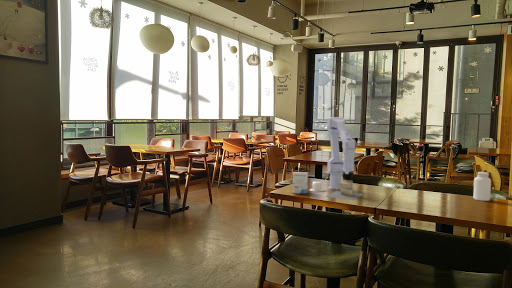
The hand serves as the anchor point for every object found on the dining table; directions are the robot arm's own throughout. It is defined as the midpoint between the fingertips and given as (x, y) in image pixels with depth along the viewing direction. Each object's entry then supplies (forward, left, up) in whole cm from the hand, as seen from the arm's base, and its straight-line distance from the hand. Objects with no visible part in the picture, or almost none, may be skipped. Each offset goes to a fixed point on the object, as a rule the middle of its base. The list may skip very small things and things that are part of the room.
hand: (348, 185), depth 220 cm
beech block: (+1, 0, -4) cm, 5 cm away
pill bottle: (-29, +66, -6) cm, 72 cm away
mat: (+5, 0, -5) cm, 8 cm away
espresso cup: (-2, -19, -6) cm, 20 cm away
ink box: (+10, -25, -6) cm, 28 cm away
